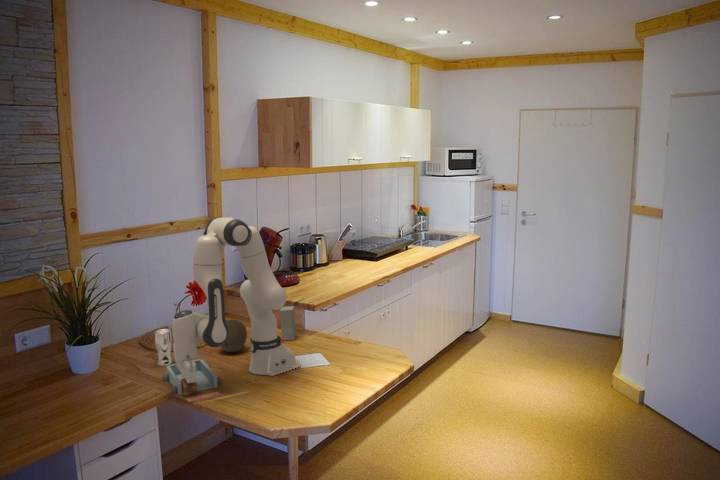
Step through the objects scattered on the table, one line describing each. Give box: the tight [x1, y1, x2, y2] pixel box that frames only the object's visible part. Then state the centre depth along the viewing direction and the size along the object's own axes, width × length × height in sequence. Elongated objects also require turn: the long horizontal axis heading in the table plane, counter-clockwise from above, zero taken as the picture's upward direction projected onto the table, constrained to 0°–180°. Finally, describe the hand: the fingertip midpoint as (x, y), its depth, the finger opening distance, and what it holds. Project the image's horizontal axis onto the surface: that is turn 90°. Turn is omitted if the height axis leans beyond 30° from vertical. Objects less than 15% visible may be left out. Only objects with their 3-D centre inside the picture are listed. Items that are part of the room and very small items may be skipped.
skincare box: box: [279, 305, 297, 341], centre depth 288 cm, size 8×7×16 cm
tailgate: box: [185, 391, 221, 403], centre depth 220 cm, size 12×1×8 cm
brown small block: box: [181, 378, 199, 396], centre depth 222 cm, size 5×5×4 cm
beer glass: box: [154, 328, 173, 367], centre depth 256 cm, size 7×7×15 cm
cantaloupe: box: [220, 319, 248, 353], centre depth 270 cm, size 14×14×15 cm
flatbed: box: [161, 358, 222, 396], centre depth 233 cm, size 19×22×6 cm
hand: (187, 385), depth 226 cm, fingers closed
